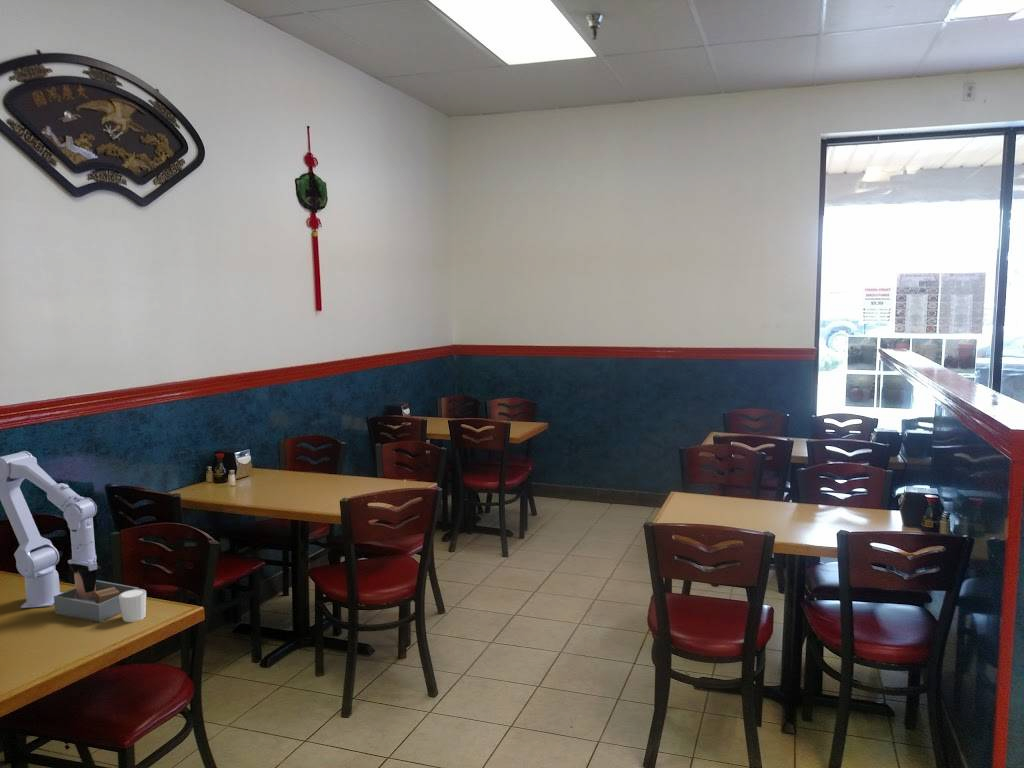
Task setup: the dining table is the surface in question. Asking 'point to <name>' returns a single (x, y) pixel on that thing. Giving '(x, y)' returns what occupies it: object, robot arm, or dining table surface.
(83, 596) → the terracotta cylinder
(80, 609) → the tote
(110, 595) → the walnut cube
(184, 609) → the dining table surface
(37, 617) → the dining table surface
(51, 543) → the robot arm
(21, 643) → the dining table surface
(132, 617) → the white cylinder
